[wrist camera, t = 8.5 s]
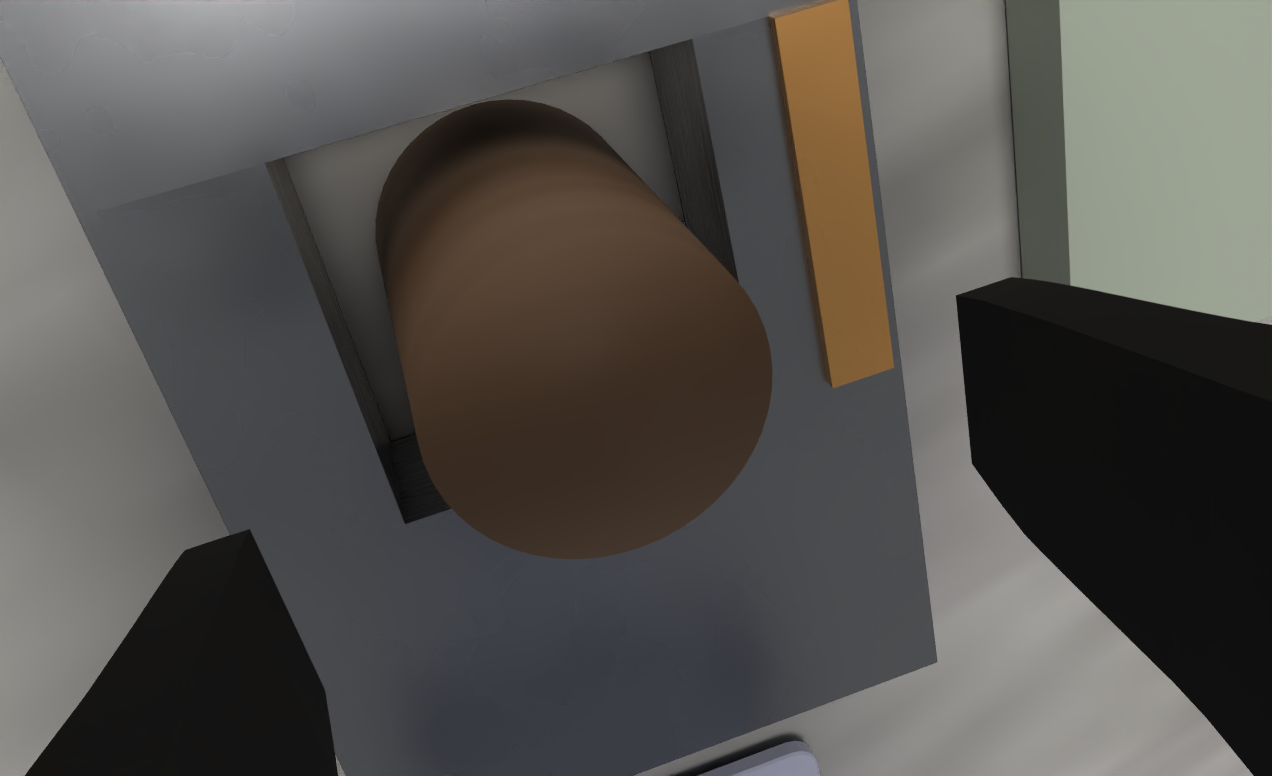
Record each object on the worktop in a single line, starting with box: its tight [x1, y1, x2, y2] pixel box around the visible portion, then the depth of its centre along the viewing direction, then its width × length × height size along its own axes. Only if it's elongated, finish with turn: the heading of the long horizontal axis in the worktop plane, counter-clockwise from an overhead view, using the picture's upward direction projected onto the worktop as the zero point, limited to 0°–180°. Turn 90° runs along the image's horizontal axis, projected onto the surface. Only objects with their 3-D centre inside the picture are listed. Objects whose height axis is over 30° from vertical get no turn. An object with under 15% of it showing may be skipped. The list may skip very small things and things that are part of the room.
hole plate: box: [0, 0, 937, 776], centre depth 17 cm, size 18×10×3 cm, turn 13°
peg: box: [376, 100, 773, 559], centre depth 16 cm, size 4×4×6 cm
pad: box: [1006, 0, 1272, 322], centre depth 19 cm, size 10×7×2 cm
